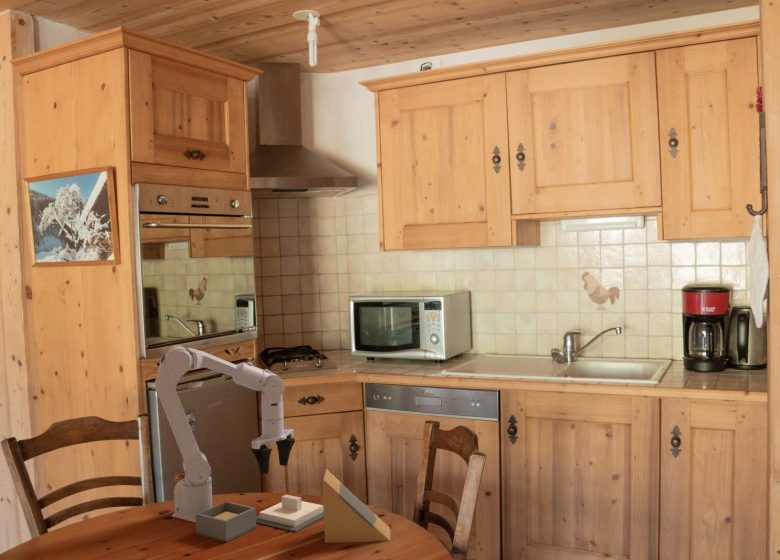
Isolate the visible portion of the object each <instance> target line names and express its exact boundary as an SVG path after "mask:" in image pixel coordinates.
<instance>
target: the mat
mask: <svg viewBox="0 0 780 560" xmlns="http://www.w3.org/2000/svg"><path fill="white" fill-rule="evenodd" d="M322 519H324V512H322V513H320V514H318V515H316V516H315V517H313V518H311V519H309V520H307V521H305V522H303V523H301V524H299V525H297V526H296V527H293V526H289V525H285V524H281V523H277V522H272V521H268V520H264V519H260V514H259V515H256V524H259V525H264V526H267V525H268V527H271V526H272V528H276V529H279V530H280V529H281V530H284V529H285V530H286V531H288V530H289V532H292V531H293V533H298V532H300V531H302V530H304V529H305V528H308V527H309V526H311V525H313V524H315V523H316V522H318V521H320V520H322Z"/></svg>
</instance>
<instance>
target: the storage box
mask: <svg viewBox="0 0 780 560" xmlns="http://www.w3.org/2000/svg"><path fill="white" fill-rule="evenodd" d="M256 509H257V507H254V506H249V505H245V504H240V503H236V502H232V501H228V500H227V501H226V500H225V501H223V502H221V503H219V504H216V505H212V507H211V508H209V509H206V510H204V511H202V512H199V513H197V514H196V523H195V535H197V536H200V537H204V538H206V539H211V540H215V541H219V542H222V543H229V542H231V541H233V540H234V539H237V538H239V537H242V535H245V534H247V533H249V532H251V531H253V530H255V529H257V523H256V516H257V512H256Z"/></svg>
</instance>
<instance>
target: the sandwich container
mask: <svg viewBox="0 0 780 560" xmlns="http://www.w3.org/2000/svg"><path fill="white" fill-rule="evenodd" d="M322 490H323V491H322V492H323V493H322V494H323V495H322V496H323V497H322V498H323V507H324V518H323V526H324V527H323V528H324V529H323V531H324V543H325V544H326V543H327V544H328V543H332V544H333V543H362V542H365V543H367V542H384V541H385V542H387V541H388V542H390V541H391V527H390V526H389V525H388V524H386V523H385V522H384V521H383V519H381V518H380V517H379V516H378V515H376V514H375V512H373V511H372V509H370V508H369V507H368V506H367V505H366V504H365V503H364V502H362V500H361V499H359V497H357V496H356V495H355V494H354V493H353V492H352V491H351V490H350V489H348V487H346V486H345V485H344V484H343V483H342V482H341V481H340V479H338V478H337V477H336V476H335V475H334V474H332V473H331V472H330V471H329V470H328V469H327V468H326V469H325V472H324V476H323V478H322Z"/></svg>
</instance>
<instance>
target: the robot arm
mask: <svg viewBox="0 0 780 560" xmlns="http://www.w3.org/2000/svg"><path fill="white" fill-rule="evenodd" d="M188 350H189V351H188ZM191 368H192V370H197V369H202V368H205V369H208V370H212V371H215V372H218V373H221V374H223V375H226V376H230V377H231V378H232V380H233V383H234V384H237V385H240V386H242V387H245V388H247V389H251V390H254V391H256V392H259V391H260V392H261V402H260V403H261V404H260V405H261V406H260V407H261V435H260V436H258V437H257V438H255V439H253V440H252V441H251V447H250V450H251V451H250V452H252V454H253V455H254V457H255V458H256V461H257V464H258V468H259V470H260V474H264V475H267V474H269V471H270V458H271V452H272V451H273V448H270V447H268V445H269V444H270V445H271V444H273V443H275V445H276V448H277V455H278V463H279V465H280V466H282V467H283V466H284V467H287V466H288V463H289V459H290V454H291V451H292V448H293V447H294V444H295V443H296V438H293V437H294V436H295V435H294V428H293V429H292V428H285V427H284V401H283V394H284V392H285V389H286V385H285V383H284V380H283V379H282V377H281V376H279V375H277V374H276V373H274V372H272V371H270V370H269V369H267V368H265V369H262V368H259V367H257V366H255V365H254V363H252V362H250V361H247V362H240V363H238V364H235V363H232V362H230V361H227V360H225V359H222V358H221V357H218V356H215V355H213V354H211V353H208V352H206V351H203V350H199V349H196V348H194V347H193V348H192V347H187V348H186V347H185V346H183V345H180V344H174V345H171V346H169V347H168V348H167V349H166V350H165V352H164V353H163V355H162V356H161V357H160V360H159V366H158V370H157V373H156V377H155V380H154V388H155V391H156V394H157V396H158V398H159V401H160V404H161V405H162V408H163V412H164V413H165V416H166V419H167V421H168V423H169V426H170V428H171V431H172V434H173V436H174V440H175V441H176V444H177V446H178V448H179V449H178V450H179V451H180V454H181V458H182V469H183V471H184V473H185V476H184V477H183V478H182V479H180V480H178V482H177V483H176V485H175V486H174V490H173V499H174V500H173V504H174V507H173V508H174V513H173V514H172V515H171V517H172V518H176V519H180V520H185V521H189V522H192V523H195V524H196V514H197V513H199V512H202V511H204V510H206V509H209V508H211V507H213V485H212V482H213V481H212V476H211V474H212V467H211V465H210V463H209V462H208V459H207V457H206V456H207V455H205V454H204V453H203V452H202V451H201V450H200V447H199V444H198V443H197V440H196V438H195V435H194V433H193V430H192V427H191V424H190V422H189V420H188V418H187V417H188V416H187V415H186V412H185V409H184V408H183V405H182V401H181V400H180V396H179V394H178V392H177V389H176V387H177V386H178V383H179V381H180V379H181V378H182V377H183V376H184V375H185V374H186V373H187V372H188V371H189V370H190V369H191Z"/></svg>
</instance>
